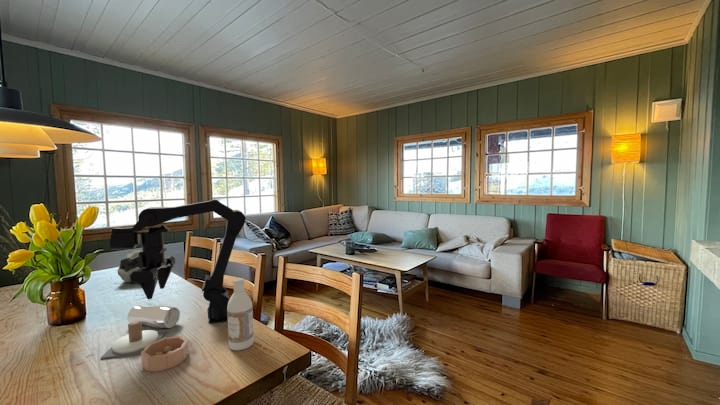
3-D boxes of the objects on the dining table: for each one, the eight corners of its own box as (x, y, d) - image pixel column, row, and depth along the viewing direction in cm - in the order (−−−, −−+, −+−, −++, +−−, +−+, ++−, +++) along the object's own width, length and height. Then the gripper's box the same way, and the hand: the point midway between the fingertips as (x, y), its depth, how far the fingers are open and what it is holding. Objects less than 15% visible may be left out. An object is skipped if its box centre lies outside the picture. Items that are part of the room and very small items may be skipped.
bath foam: (223, 349, 86) (220, 282, 85) (239, 337, 93) (237, 274, 91) (243, 353, 84) (240, 284, 83) (258, 340, 91) (256, 276, 89)
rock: (120, 289, 135) (118, 257, 134) (114, 280, 148) (112, 250, 147) (158, 281, 146) (156, 251, 145) (149, 273, 158) (148, 245, 157)
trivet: (166, 332, 96) (166, 330, 96) (149, 353, 85) (149, 351, 85) (124, 337, 94) (123, 335, 94) (100, 359, 82) (100, 357, 82)
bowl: (192, 347, 87) (191, 334, 87) (179, 368, 78) (179, 354, 77) (153, 352, 85) (152, 339, 85) (136, 374, 75) (135, 359, 75)
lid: (164, 331, 96) (162, 313, 95) (148, 350, 85) (146, 329, 85) (124, 336, 93) (123, 317, 93) (103, 356, 83) (101, 335, 82)
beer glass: (131, 330, 101) (168, 333, 98) (122, 315, 98) (160, 318, 95) (147, 314, 107) (183, 316, 104) (139, 299, 104) (175, 302, 101)
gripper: (138, 242, 103) (141, 285, 104) (106, 255, 84) (110, 308, 86) (174, 240, 105) (177, 283, 106) (150, 252, 87) (154, 304, 88)
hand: (156, 293), depth 97 cm, fingers open, 9 cm apart
